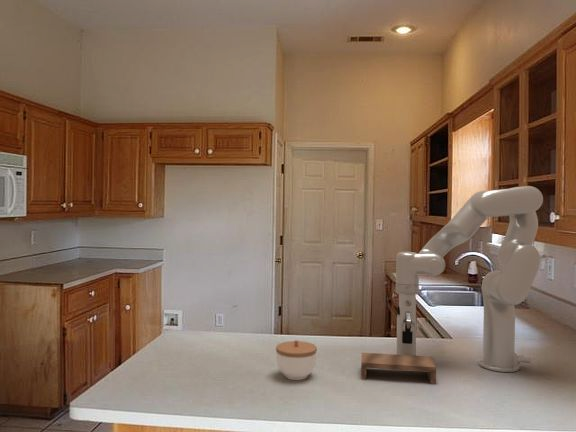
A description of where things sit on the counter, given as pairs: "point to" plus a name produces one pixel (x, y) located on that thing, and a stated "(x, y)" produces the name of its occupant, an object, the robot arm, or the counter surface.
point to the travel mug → (401, 347)
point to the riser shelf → (399, 363)
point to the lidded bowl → (296, 359)
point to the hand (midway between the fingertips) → (405, 339)
